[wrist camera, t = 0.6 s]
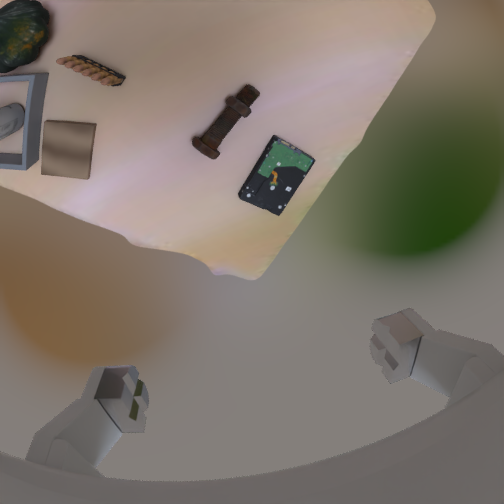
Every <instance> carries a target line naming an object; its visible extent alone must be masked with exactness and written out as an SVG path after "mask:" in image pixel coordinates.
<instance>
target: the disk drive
mask: <svg viewBox="0 0 504 504" xmlns="http://www.w3.org/2000/svg"><path fill="white" fill-rule="evenodd" d="M315 161H316V160H315V159H314V158H312V157H311V156H309V155H308V154H306V153H304V152H303V151H301V150H299V149H298V148H296V147H294V146H292V145H291V144H289V143H287V142H286V141H284V140H282V139H280V138H279V137H277V136H275V135H273V137H272V138H271V140H270V142H269V143H268V144H267V146H266V148H265V150H264V151H263V153H262V155H261V156H260V158H259V160H258V161H257V163H256V165H255V166H254V168H253V170H252V171H251V173H250V175H249V176H248V178H247V180H246V181H245V183H244V184H243V186H242V188H241V190H240V191H239V193H238V195H239V198H240V199H241V200H243V201H246V202H249V203H251V204H253V205H255V206H257V207H260V208H262V209H267V210H268V211H270V212H271V213H273V214H276V215H278V216H279V215H280V214H281V213H282V211H283V210H284V208H285V207H286V205H287V204H288V202H289V201H290V199H291V197H292V196H293V194H294V193H295V191H296V190H297V188H298V187H299V185H300V184H301V182H302V181H303V179H304V178H305V176H306V175H307V173H308V172H309V170H310V169H311V167H312V165H313V164H314V162H315Z"/></svg>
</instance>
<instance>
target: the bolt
mask: <svg viewBox="0 0 504 504" xmlns="http://www.w3.org/2000/svg"><path fill="white" fill-rule="evenodd" d="M258 96H260V92H259V91H258V90H257V89H256V88H254V87H253V86H251V85H246V86H245V87H244V89H243V90H242V91H241V92H240V93H239V94H238V96H237V97H236V98H235V97H233V96H231V97H229V98H228V100H227V101H226V104H227V105H228V106H229V107H228V108H226V109H227V110H225V111H224V112H223V114H222V115H220V116H221V117H219V118H218V120H217V121H216V122H215V124H214V125H212V126H213V127H211V128H210V130H209V131H208V132H207V133H206V134H205V135H204V136H203V137H202V139H201V138H199V137H195V138H194V139H193V140H192V144H193V146H194V147H195V148H196V149H197V150H199V151H200V152H201V153H203V154H204V155H206V156H207V157H209V158H211V159H216V158H217V157H218V156H219V155H220V152H219V151H218V150H217V148H218V146H219V145H220V144H221V142H222V139H224V138H225V136H226V135H227V133H228V132H230V131H231V129H232V128H233V126H234V125H235V123H236V122H237V121H239V120H238V119H240V118H241V116H243V117H244V118H245V117H248V116H249V114H250V113H251V109H250V108H249V107H250V105H251V104H253V103H254V101H255V100H256V99H257V97H258ZM229 130H230V131H229Z"/></svg>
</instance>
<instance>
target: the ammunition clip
mask: <svg viewBox="0 0 504 504" xmlns="http://www.w3.org/2000/svg"><path fill="white" fill-rule="evenodd" d="M56 62H57V63H58V64H60V65H65V67H67V68H72V69H73V70H74V71H75V72H81V73H82V75H84V76H89V77H91V79H92V80H95V81H101V84H102V85H108V86H109V85H111V86H119V85H121V84H122V82H123V81H124V79H125V78H126V77H125V76H123V75H121V74H119V73H117V72H115V71H113V70H111V69H109V68H107V67H105V66H103V65H101V64H99V63H97V62H95V61H93V60H90V59H88V58H86V57H84V56H81V55H72V56H68V57H64V58H59V59H58V60H57V61H56Z"/></svg>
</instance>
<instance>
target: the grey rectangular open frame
mask: <svg viewBox="0 0 504 504" xmlns="http://www.w3.org/2000/svg"><path fill="white" fill-rule="evenodd" d="M48 75H49V73H31V74H13V75H2V76H0V82H11V81H30V82H29V88H28V94H27V101H26V109H25V119H24V130H23V148H22V154H10V153H0V169H14V170H27V169H28V168H30V167H31V166H32V165H33V164H34V163H36V162H37V161H38V160H39V144H40V131H41V121H42V112H43V105H44V98H45V92H46V86H47V80H48Z"/></svg>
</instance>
